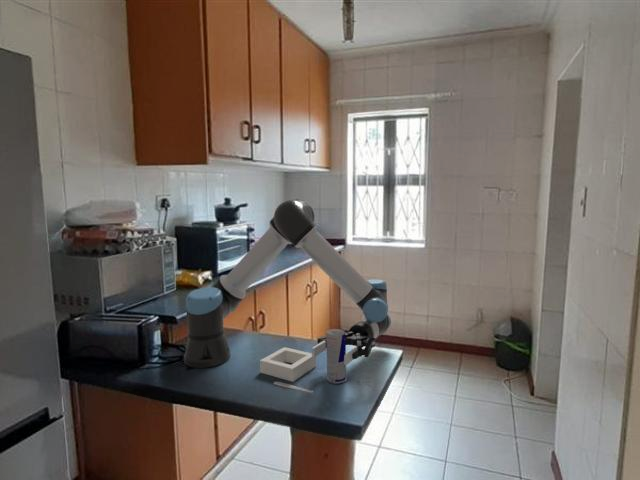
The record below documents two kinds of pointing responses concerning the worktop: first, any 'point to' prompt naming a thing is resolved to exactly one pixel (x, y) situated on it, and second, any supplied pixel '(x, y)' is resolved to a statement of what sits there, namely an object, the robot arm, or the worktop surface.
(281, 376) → the socket block
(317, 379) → the worktop surface
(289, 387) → the butter knife
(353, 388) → the worktop surface
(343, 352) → the beverage can
